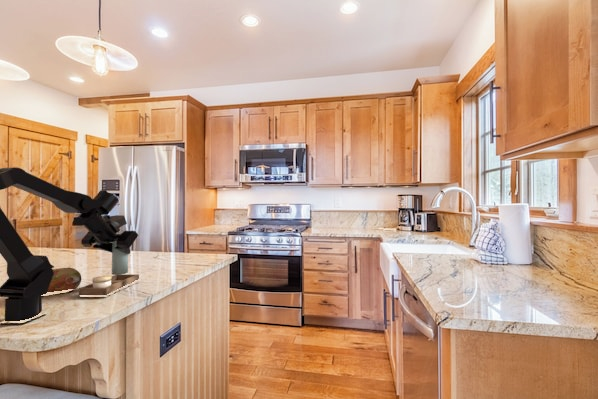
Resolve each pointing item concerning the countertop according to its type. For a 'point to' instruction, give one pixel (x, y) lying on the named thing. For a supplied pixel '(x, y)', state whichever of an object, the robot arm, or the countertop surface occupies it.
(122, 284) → the caddy
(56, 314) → the countertop surface
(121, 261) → the tall jar
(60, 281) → the tin
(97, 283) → the cream lidded jar
